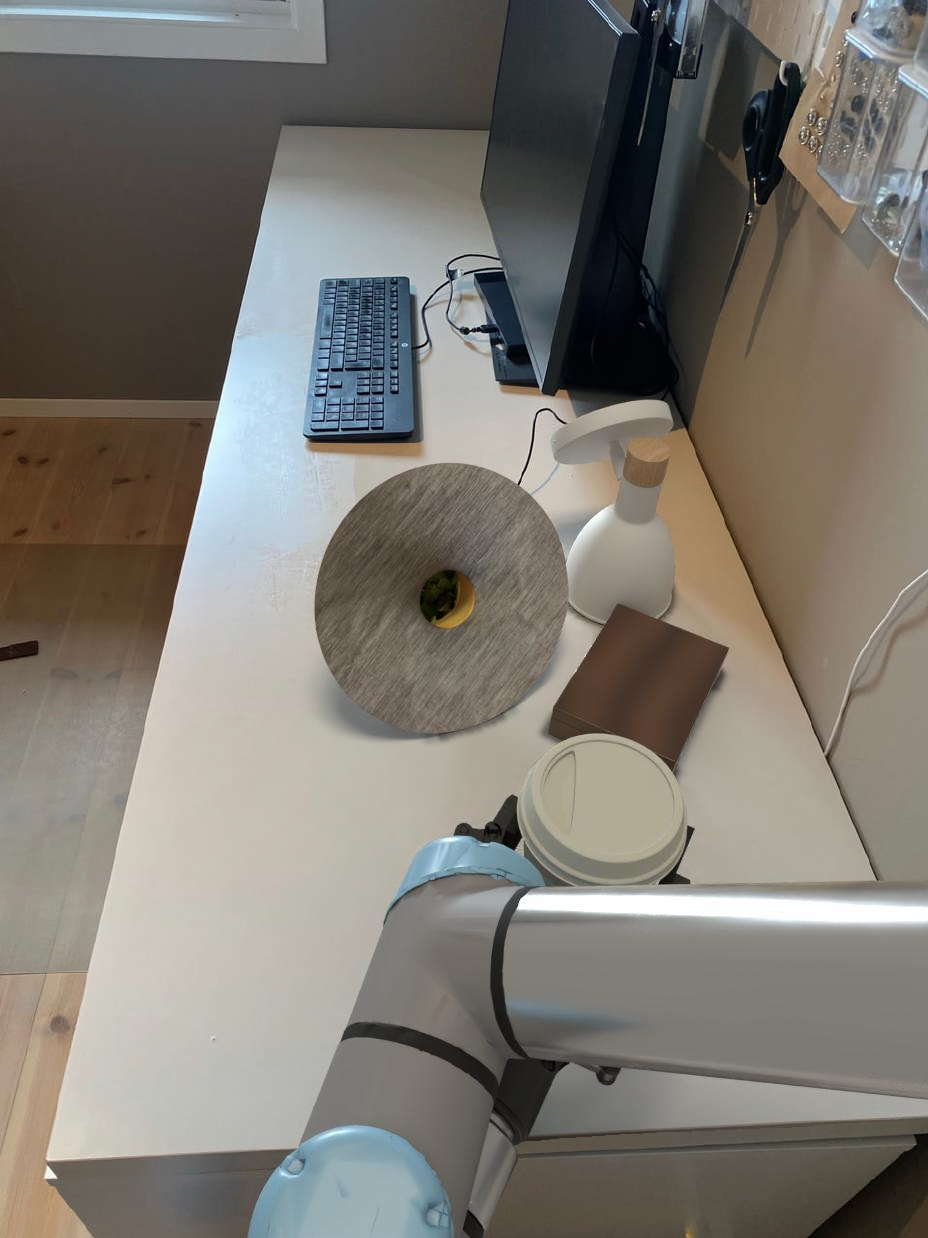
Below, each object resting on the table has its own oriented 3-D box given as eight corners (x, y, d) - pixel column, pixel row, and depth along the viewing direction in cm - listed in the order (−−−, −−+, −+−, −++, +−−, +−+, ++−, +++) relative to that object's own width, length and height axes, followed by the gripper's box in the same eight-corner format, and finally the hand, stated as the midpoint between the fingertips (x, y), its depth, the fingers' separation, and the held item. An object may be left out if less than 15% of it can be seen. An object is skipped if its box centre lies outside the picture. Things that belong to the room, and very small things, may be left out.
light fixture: (563, 647, 102) (636, 617, 83) (519, 471, 104) (579, 402, 85) (664, 624, 105) (756, 591, 86) (618, 454, 107) (698, 384, 88)
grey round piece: (550, 658, 102) (480, 447, 98) (618, 678, 85) (536, 425, 81) (344, 744, 96) (260, 523, 92) (373, 784, 80) (272, 516, 76)
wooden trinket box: (719, 673, 93) (729, 647, 90) (666, 787, 83) (676, 762, 80) (611, 629, 96) (617, 602, 93) (547, 733, 86) (552, 707, 83)
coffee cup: (558, 818, 71) (585, 697, 60) (675, 903, 67) (727, 788, 56) (472, 914, 65) (484, 799, 55) (593, 1014, 61) (633, 910, 50)
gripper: (299, 1031, 55) (473, 767, 69) (639, 1244, 48) (755, 903, 62) (287, 981, 50) (478, 706, 64) (668, 1212, 43) (788, 847, 57)
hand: (615, 804), depth 63 cm, fingers closed on coffee cup, 9 cm apart
